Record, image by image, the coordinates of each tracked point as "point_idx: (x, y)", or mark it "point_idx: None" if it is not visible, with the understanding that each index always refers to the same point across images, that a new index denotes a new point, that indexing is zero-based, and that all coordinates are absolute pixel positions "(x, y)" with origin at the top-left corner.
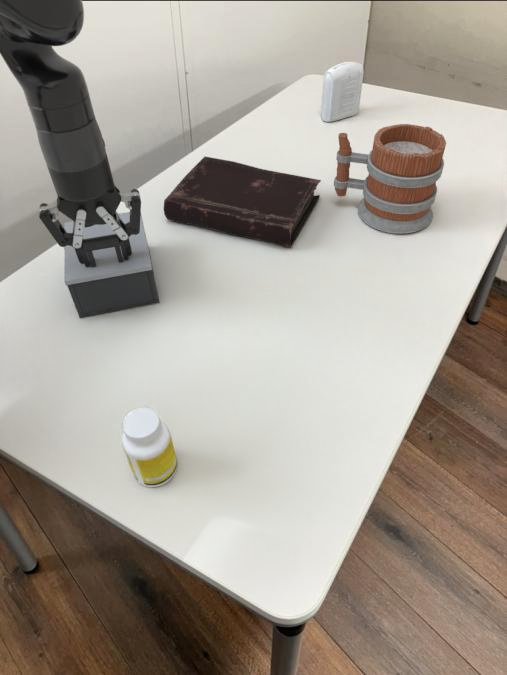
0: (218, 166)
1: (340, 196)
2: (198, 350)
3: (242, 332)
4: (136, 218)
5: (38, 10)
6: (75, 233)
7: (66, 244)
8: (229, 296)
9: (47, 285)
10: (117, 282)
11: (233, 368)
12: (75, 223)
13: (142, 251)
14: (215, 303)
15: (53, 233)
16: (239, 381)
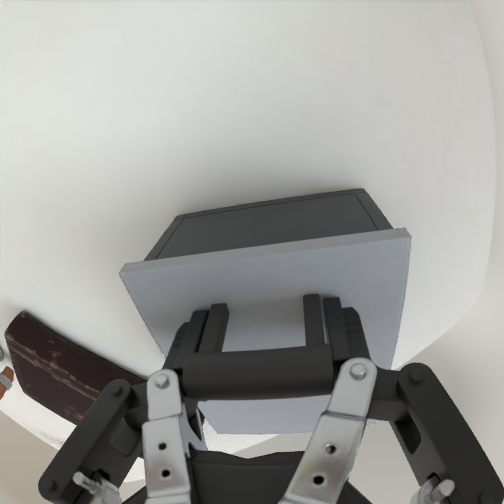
0: (142, 452)
1: (8, 367)
2: (83, 75)
3: (27, 131)
4: (85, 432)
5: None
6: (356, 428)
7: (401, 373)
8: (57, 222)
9: (421, 295)
10: (245, 245)
11: (35, 47)
12: (343, 484)
13: (166, 334)
14: (73, 206)
15: (453, 420)
16: (31, 24)
